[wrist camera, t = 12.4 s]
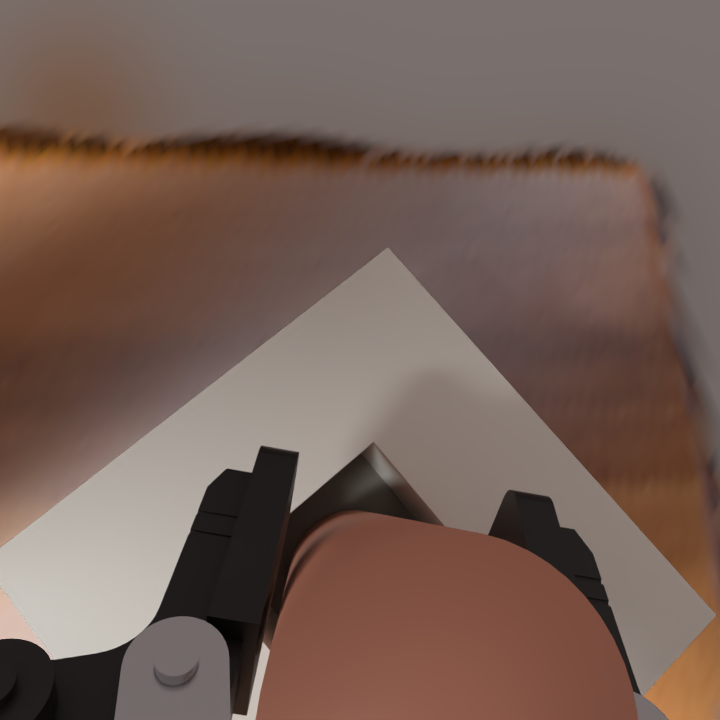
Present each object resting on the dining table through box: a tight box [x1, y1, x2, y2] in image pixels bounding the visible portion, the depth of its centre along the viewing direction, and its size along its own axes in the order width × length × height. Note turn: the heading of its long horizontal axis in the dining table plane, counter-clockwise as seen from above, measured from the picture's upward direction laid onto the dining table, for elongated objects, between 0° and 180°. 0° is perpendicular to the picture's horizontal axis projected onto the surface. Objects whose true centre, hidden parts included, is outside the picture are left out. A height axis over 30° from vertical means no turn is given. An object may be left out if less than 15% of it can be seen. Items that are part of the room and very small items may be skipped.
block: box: [0, 248, 716, 720], centre depth 16 cm, size 12×12×5 cm
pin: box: [256, 510, 638, 720], centre depth 11 cm, size 4×4×12 cm
